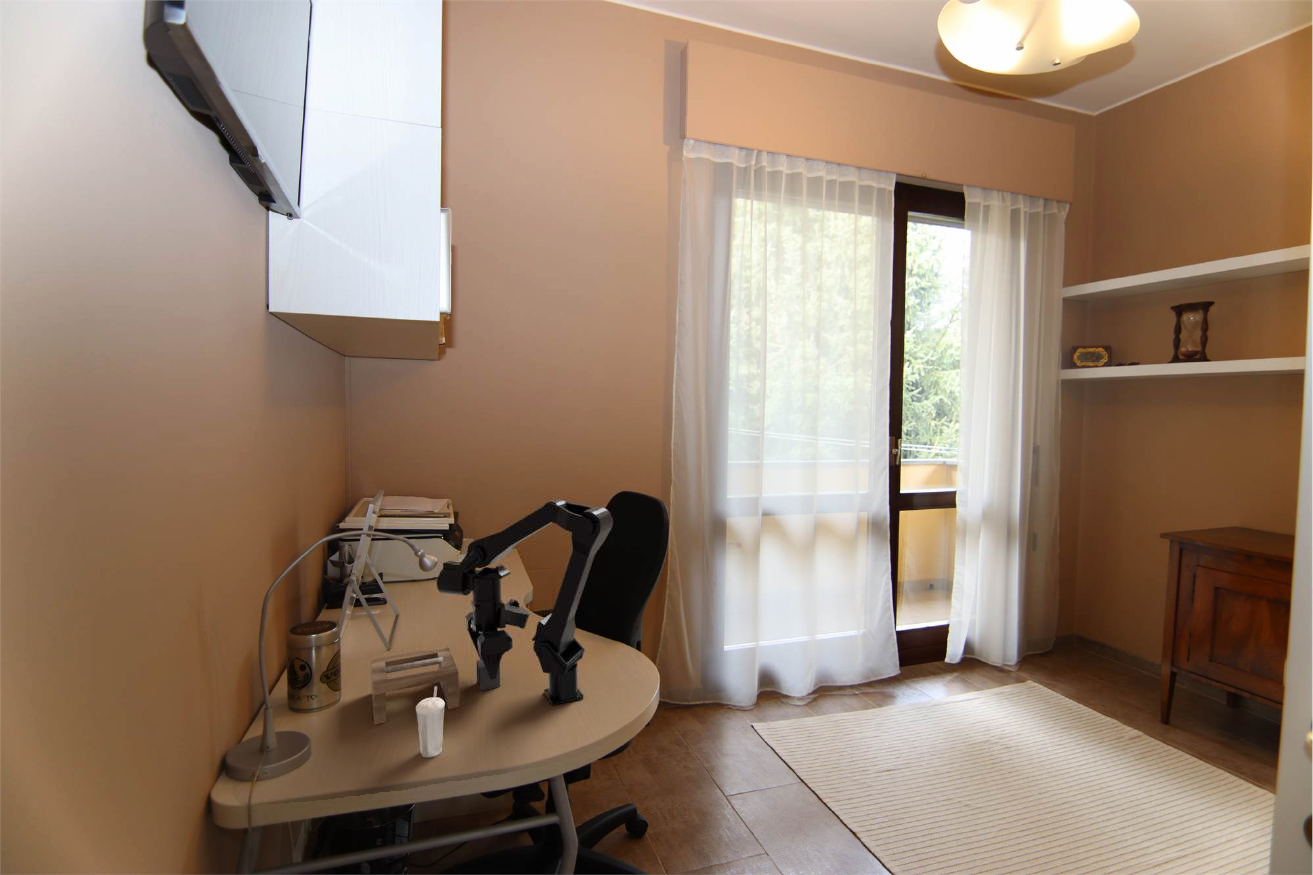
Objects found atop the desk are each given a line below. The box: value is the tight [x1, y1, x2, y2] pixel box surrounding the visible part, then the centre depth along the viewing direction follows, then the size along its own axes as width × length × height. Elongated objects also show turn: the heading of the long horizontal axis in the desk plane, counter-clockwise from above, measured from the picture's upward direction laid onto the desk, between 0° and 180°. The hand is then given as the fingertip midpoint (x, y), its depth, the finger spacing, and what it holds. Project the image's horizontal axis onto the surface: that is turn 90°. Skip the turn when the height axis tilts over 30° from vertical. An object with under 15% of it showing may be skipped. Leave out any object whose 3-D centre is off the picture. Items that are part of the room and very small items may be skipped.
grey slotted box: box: [476, 659, 501, 691], centre depth 128 cm, size 4×4×5 cm
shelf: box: [370, 645, 460, 726], centre depth 122 cm, size 14×15×8 cm
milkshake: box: [415, 685, 446, 758], centre depth 104 cm, size 5×5×10 cm
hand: (488, 670), depth 128 cm, fingers open, 9 cm apart
